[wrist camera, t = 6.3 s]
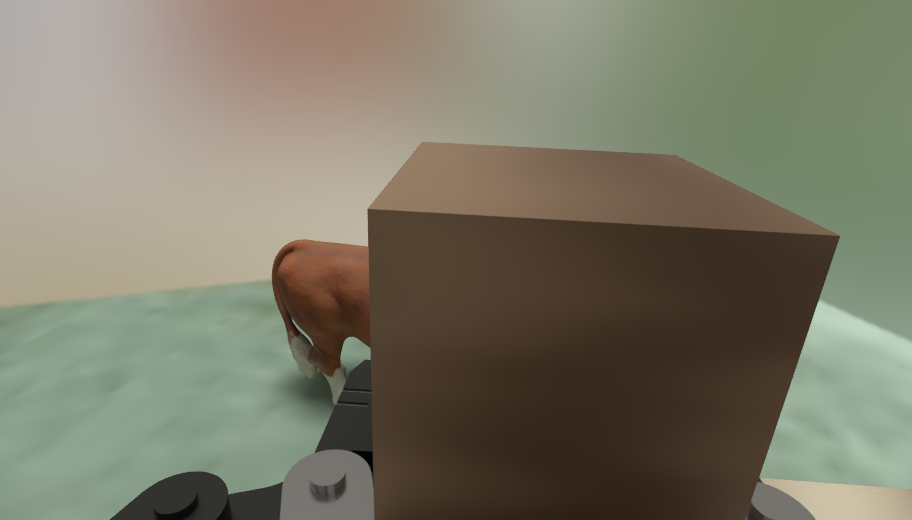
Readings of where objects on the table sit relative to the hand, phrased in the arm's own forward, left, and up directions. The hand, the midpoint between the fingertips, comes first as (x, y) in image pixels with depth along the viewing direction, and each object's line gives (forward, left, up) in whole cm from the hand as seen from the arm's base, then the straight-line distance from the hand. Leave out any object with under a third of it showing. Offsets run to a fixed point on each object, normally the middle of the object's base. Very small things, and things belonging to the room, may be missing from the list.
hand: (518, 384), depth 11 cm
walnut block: (-1, -2, -7) cm, 7 cm away
